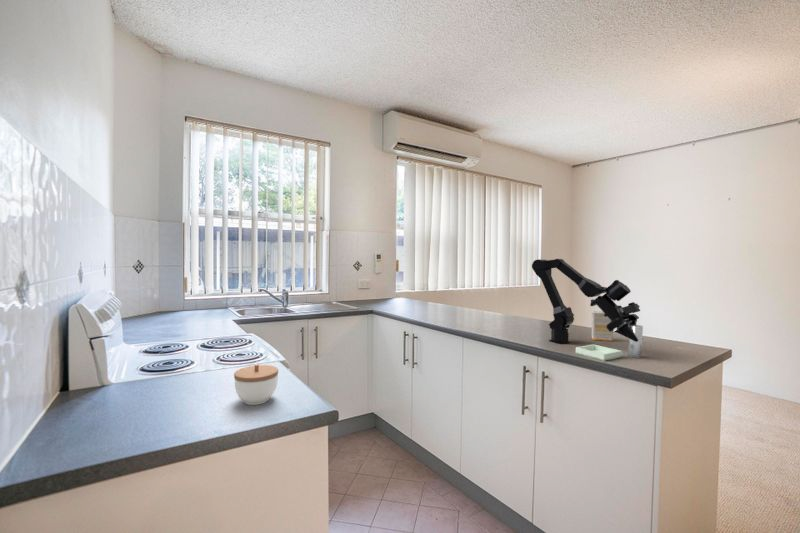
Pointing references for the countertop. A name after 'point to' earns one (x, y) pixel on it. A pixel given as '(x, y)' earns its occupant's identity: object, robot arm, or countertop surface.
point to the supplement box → (600, 327)
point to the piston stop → (636, 347)
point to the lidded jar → (256, 383)
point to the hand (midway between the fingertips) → (639, 340)
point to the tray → (599, 352)
